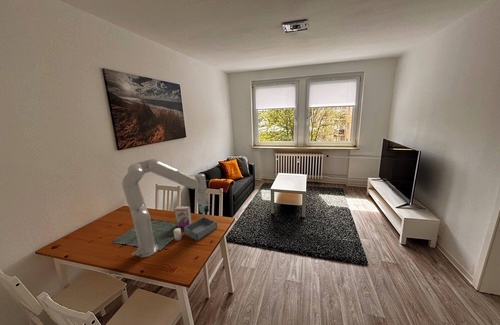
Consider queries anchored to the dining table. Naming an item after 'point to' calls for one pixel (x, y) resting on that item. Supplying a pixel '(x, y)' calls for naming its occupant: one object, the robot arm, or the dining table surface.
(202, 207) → the teal cube
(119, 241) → the dining table surface
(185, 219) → the candy bar box
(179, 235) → the white cylinder
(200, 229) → the tote
